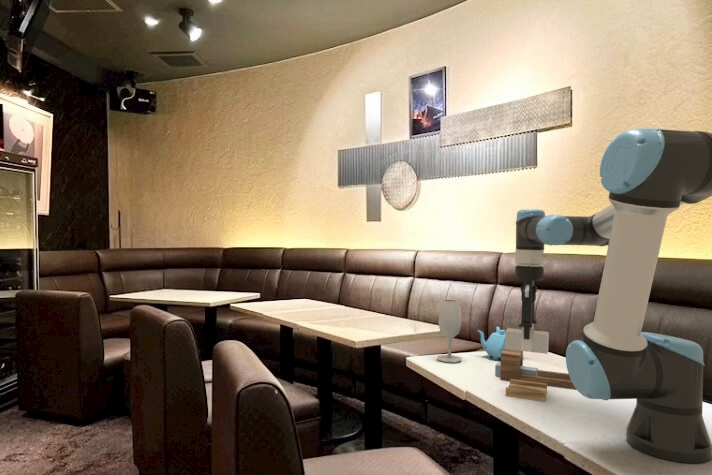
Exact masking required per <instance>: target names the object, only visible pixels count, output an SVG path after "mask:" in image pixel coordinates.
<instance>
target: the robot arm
mask: <svg viewBox="0 0 712 475" xmlns="http://www.w3.org/2000/svg"><path fill="white" fill-rule="evenodd" d="M599 177H601V179H600V183H601V185H602V187H603V188H604V190H606V191H608V192H609V193H608V194H609V195H608V201H609V202H610V204H608V205H607V206H606V207H604V208H603V209H601V210H599V211H598V212H596V213H594V214H592V215H590V216H575V215H574V216H572V215H571V216H570V215H559V214H548V215H546V213H545V210H543V209H535V208H534V209H531V208H530V209H519V210H518V211H517V213H516V218H515V219H516V220H515V251H514V252H515V253H514V254H515V256H514V257H515V258H514V262H515V264H516V266H514V269H515V270H514V277H515V279H517V280H523V284H522V285H520V292H521V298H520V301H521V322H520V324H518V327H520V328H521V329H522V339H521V351H523V352H527V351H530V352H529V353H533V352H532V330H533V331H535V324H537V320H536V316H535V312H536V311H535V308H536V306H535V305H536V300H537V297H536V296H537V290H538V286H537V285H535V281H542V280H544V275H545V274H544V273H545V272H544V270H545V267H544V266H543V265H544V264H545V263H544V262H545V259H544V258H547V254H546V253H545V245H547V246H591V247H592V246H593V247H594V246H595V247H596V246H597V247H607V250H606V256H605V260H604V265H603V272H602V275H601V281H600V286H599V292H598V297H597V303H596V306H595V312H594V316H593V321H592V322H590V323H588V324H587V325H585V326H584V327H583V330H582V335H581V339H580V340H579V339H575V340H572V341H571V342H570V343H569V344H568V345H567V348H566V351H565V365H566V370H567V374H569V376H570V379H571V381H572V383H573V385H574V386H575V388H576V389H577V392H578V393H580V395H581V396H583V397H585V398H586V399H589V400H602V401H609V400H636V403H635V407H634V410H633V412H632V413H631V414H632V415H631V417H630V419H629V422H628V423H627V426H626V433H625V434H626V435H625V438H626V442H627V443H628V444H629V445H630V446H631V447H633V448H635V449H636V450H638V451H640V452H643V453H645V454H647V455H650V456H652V457H655V458H659V459H662V460H667V461H672V462H676V463H677V462H678V463H688V464H701V463H707V462H709V461H711V459H712V441H711V437H710V435H709V432H708V429H707V427H706V426H707V425H706V424H705V420H704V417H703V398H704V397H703V396H704V392H703V391H704V372H705V371H704V370H705V363H704V350H703V347H702V346H701V345H700V344H698V343H697V342H695V341H692V340H688V339H684V338H681V337H676V336H672V335H667V334H660V333H654V332H648V331H642V329H643V326H644V320H645V317H646V312H647V307H648V303H649V298H650V294H651V290H652V285H653V280H654V277H655V272H656V268H657V264H658V258H659V254H660V249H661V244H662V242H663V236H664V232H665V227H666V224H667V220H668V216H670V214H672V213H674V212H675V211H677V210H679V209H680V206H682V205H684V204H687V205H694V204H697V203H700V202H702V201H704V200H707V199H709V198H711V197H712V132H709V131H702V130H701V131H699V130H694V131H691V130H679V129H677V130H676V129H663V128H662V129H661V128H660V129H659V128H654V127H650V128H634V129H627V130H625V131H623V132H620V133H619V134H618V135H617V136H616V137H615V138H614V139H612V141H611V142H610V143H609V144H608V146H607V147H606V148H605V151H604V153H603V156H602V158H601V162H600V165H599ZM576 389H575V390H576Z"/></svg>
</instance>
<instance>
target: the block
mask: <svg viewBox="0 0 712 475" xmlns="http://www.w3.org/2000/svg"><path fill="white" fill-rule="evenodd" d="M549 336H550V334H549V331H544V330H543V331H541V330H534V331H533V330H532V352H530V351H526V352H529V353H536V354H537V353H538V354H545V355H547V354H548V352H549ZM521 339H522V328H511V327H507V328H506V329H505V349H509V350H518V351H521Z"/></svg>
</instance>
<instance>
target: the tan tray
mask: <svg viewBox="0 0 712 475" xmlns="http://www.w3.org/2000/svg"><path fill="white" fill-rule="evenodd" d="M547 391H548V386H547V384H545V383H537V382H529V381H522V380H514V379H510V381H509V385H508V386H507V387H505V396H506V397H512V398H519V399H527V400H532V401H538V402H539V401H541V402H546V398H547Z"/></svg>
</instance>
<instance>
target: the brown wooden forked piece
mask: <svg viewBox="0 0 712 475" xmlns="http://www.w3.org/2000/svg"><path fill="white" fill-rule="evenodd" d="M500 363H501V370H500V377H499V380H501V381H507V382H508V381H509V382H510V379H514V380H522V381H529V382H537V383H545V384H547V387H552V388H553V387H556V388H562V389H570V390H577V389H576V388H575V386H574V385H573V383H572V381H571V379H570V376H569V373H568V372H558V371H557V372H556V371H550V370H543V369H538V376H531V375H524V374H520V366H524V351H518V350H509V349H505V348H504V350H503V351H502V352H501V358H500ZM577 391H578V390H577Z"/></svg>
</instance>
